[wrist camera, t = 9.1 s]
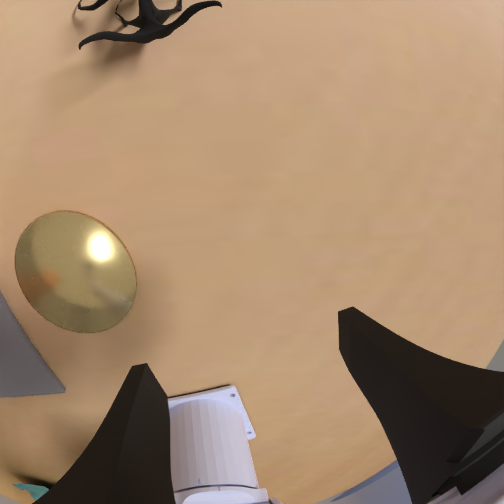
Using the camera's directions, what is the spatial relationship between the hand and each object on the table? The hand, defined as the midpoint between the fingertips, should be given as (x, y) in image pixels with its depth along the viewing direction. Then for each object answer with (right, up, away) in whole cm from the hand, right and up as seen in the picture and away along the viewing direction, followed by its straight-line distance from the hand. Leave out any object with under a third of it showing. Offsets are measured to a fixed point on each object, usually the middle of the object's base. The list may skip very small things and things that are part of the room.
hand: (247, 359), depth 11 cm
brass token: (-12, +2, +7) cm, 14 cm away
